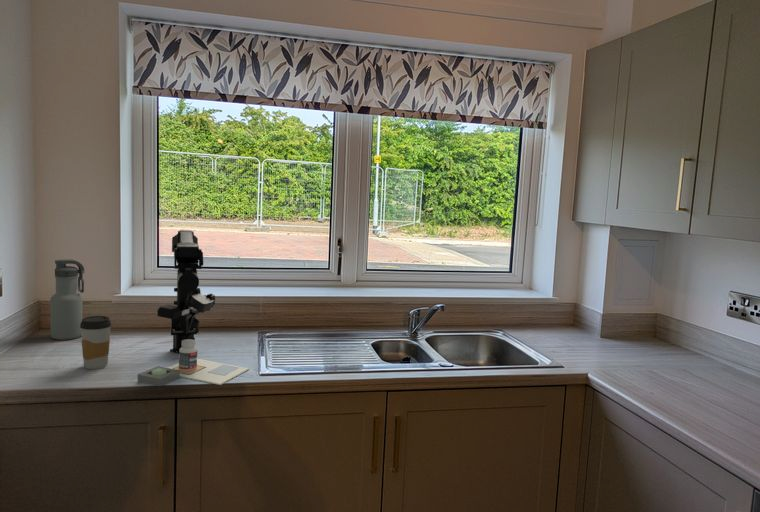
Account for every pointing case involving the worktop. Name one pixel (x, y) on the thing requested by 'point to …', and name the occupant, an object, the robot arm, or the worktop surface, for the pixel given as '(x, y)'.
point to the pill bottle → (188, 355)
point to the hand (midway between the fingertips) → (186, 333)
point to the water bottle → (67, 301)
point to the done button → (159, 372)
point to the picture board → (211, 372)
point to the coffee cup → (95, 341)
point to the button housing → (158, 380)
